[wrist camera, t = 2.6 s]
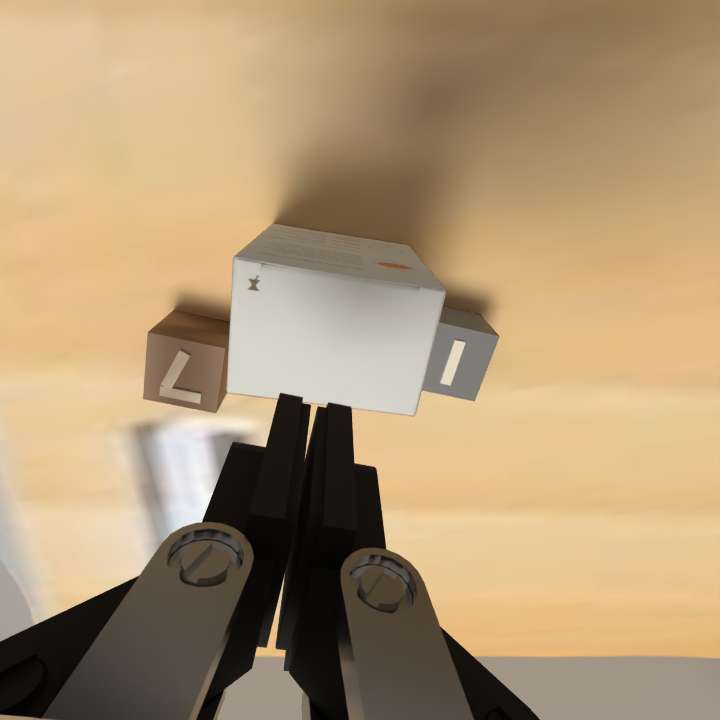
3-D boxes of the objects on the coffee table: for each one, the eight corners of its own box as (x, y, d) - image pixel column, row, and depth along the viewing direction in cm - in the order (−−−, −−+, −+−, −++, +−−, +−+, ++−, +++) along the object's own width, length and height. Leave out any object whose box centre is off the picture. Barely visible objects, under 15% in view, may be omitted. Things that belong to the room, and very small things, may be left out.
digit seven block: (241, 324, 28) (224, 349, 24) (232, 382, 30) (215, 414, 26) (174, 309, 28) (146, 333, 24) (168, 369, 29) (141, 400, 25)
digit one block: (479, 314, 28) (500, 337, 25) (458, 371, 30) (475, 402, 26) (417, 299, 28) (428, 320, 24) (399, 358, 29) (406, 388, 26)
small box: (263, 315, 28) (218, 395, 18) (271, 220, 26) (226, 254, 16) (393, 334, 29) (417, 422, 19) (412, 243, 27) (450, 290, 17)
